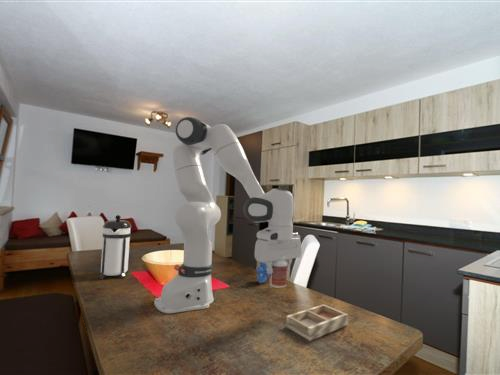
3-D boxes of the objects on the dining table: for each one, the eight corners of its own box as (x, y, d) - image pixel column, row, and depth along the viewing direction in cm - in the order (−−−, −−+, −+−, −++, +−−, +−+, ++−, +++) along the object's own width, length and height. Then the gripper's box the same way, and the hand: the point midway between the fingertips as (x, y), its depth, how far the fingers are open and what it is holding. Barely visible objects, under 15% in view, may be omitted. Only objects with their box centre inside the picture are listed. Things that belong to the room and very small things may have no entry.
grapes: (261, 278, 138) (262, 255, 138) (273, 280, 134) (274, 257, 135) (249, 283, 128) (250, 258, 128) (261, 286, 124) (263, 260, 125)
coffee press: (138, 274, 134) (142, 215, 135) (107, 282, 120) (112, 216, 122) (119, 268, 143) (122, 213, 145) (88, 275, 130) (92, 214, 131)
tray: (310, 340, 77) (310, 328, 78) (286, 326, 85) (286, 315, 86) (347, 324, 89) (347, 314, 89) (323, 313, 97) (323, 304, 97)
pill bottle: (290, 287, 94) (291, 255, 94) (276, 289, 90) (278, 256, 91) (278, 281, 99) (280, 252, 99) (265, 284, 95) (267, 253, 96)
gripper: (294, 231, 104) (292, 266, 103) (252, 233, 92) (250, 273, 91) (306, 233, 99) (304, 270, 98) (264, 235, 87) (262, 278, 86)
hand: (278, 272), depth 95 cm, fingers closed on pill bottle, 6 cm apart
